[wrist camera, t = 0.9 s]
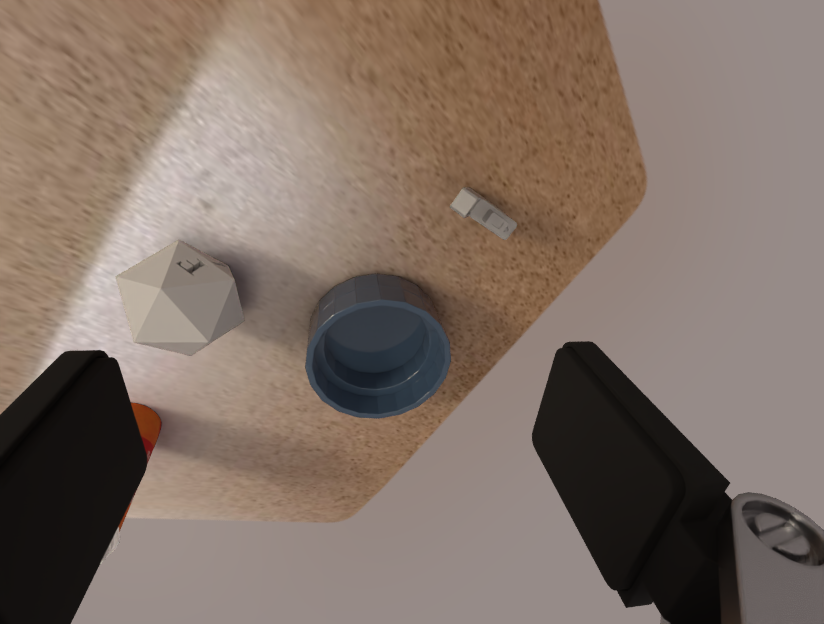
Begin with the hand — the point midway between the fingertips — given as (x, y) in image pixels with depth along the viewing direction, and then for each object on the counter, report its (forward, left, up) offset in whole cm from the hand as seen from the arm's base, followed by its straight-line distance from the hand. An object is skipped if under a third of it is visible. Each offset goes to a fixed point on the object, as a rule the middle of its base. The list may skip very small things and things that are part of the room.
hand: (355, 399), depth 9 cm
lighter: (-3, +11, -30) cm, 32 cm away
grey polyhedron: (+15, -7, -30) cm, 34 cm away
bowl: (+13, +10, -30) cm, 34 cm away
